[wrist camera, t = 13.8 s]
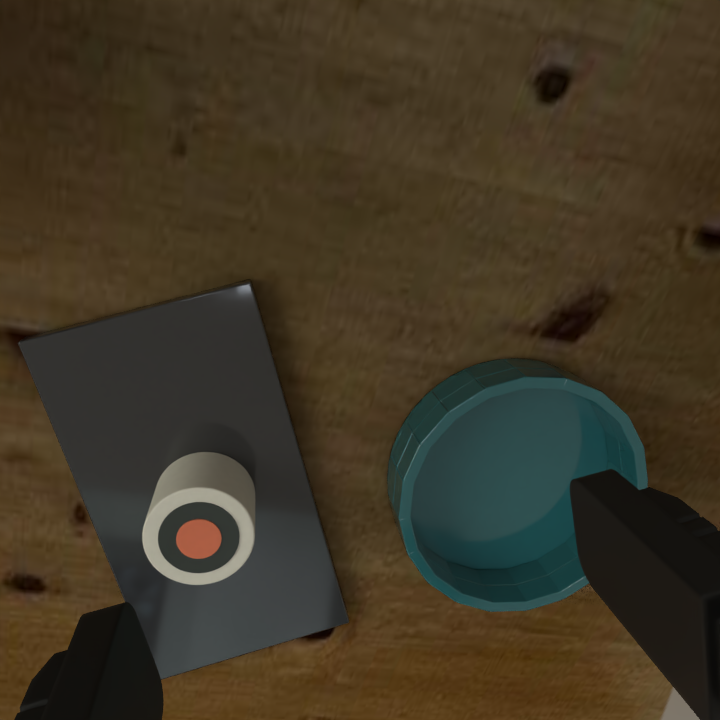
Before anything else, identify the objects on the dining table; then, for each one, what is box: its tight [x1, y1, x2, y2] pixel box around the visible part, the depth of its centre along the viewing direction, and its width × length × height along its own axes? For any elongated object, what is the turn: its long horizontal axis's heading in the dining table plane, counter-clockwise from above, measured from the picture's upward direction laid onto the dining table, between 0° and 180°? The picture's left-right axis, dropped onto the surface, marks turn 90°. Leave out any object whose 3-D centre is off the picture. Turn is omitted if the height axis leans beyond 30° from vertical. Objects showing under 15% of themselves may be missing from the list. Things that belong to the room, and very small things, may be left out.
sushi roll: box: [142, 452, 255, 585], centre depth 31 cm, size 5×5×4 cm
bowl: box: [387, 358, 648, 612], centre depth 35 cm, size 13×13×4 cm
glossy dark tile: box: [18, 279, 349, 680], centre depth 34 cm, size 11×20×1 cm, turn 13°
